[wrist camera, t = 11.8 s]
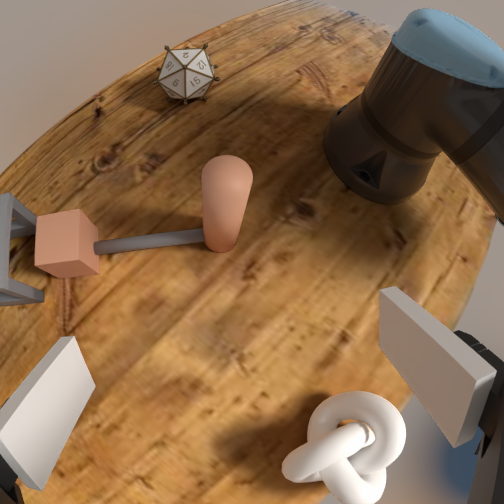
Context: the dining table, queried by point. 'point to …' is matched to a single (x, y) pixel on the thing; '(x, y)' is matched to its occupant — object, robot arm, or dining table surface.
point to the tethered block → (89, 247)
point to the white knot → (349, 447)
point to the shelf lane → (3, 229)
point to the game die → (186, 73)
